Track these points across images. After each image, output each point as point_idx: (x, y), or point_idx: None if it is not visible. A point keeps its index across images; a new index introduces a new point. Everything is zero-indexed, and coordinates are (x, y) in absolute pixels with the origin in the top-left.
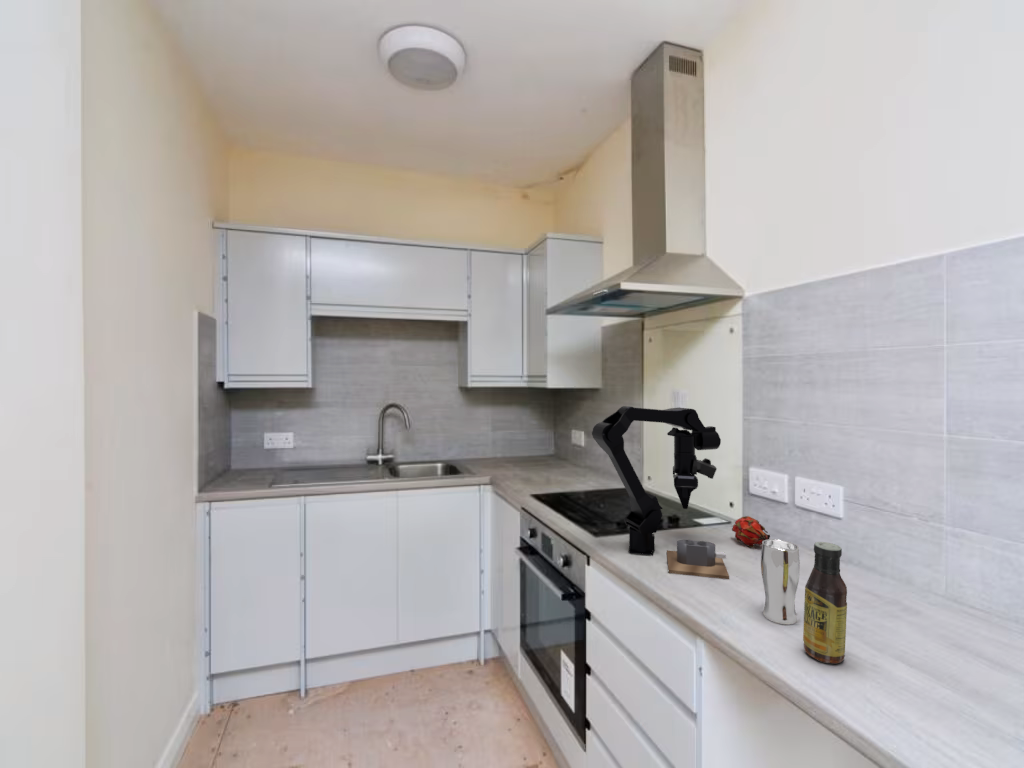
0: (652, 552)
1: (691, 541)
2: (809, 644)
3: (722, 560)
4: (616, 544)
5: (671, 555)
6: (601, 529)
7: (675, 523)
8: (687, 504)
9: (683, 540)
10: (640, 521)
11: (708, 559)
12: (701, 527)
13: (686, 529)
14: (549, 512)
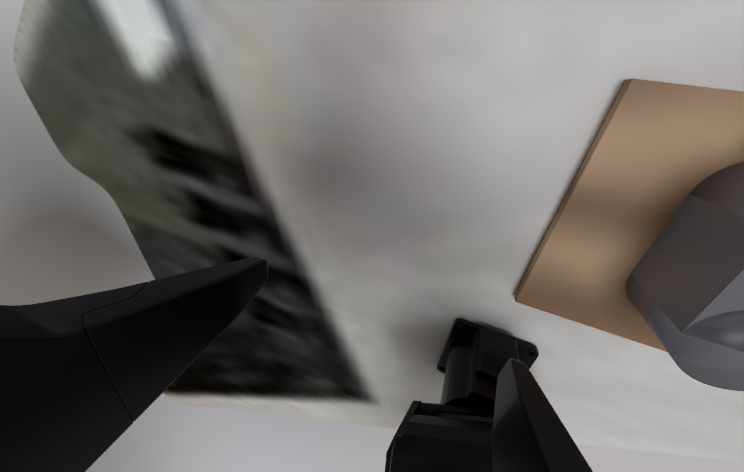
0: (526, 347)
1: (741, 317)
2: None
3: (733, 94)
4: (426, 386)
5: (581, 309)
6: (316, 369)
7: (208, 160)
8: (549, 411)
9: (697, 347)
10: (418, 413)
11: None
12: (214, 65)
13: (254, 138)
14: (239, 407)
